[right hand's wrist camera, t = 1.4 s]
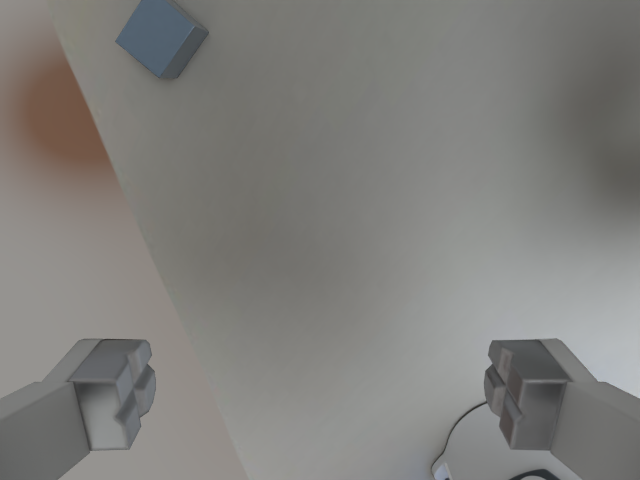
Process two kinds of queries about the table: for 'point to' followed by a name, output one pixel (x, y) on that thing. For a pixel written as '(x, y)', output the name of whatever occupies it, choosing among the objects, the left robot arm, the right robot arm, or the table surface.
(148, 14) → the block
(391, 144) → the table surface
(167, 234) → the table surface
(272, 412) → the table surface
